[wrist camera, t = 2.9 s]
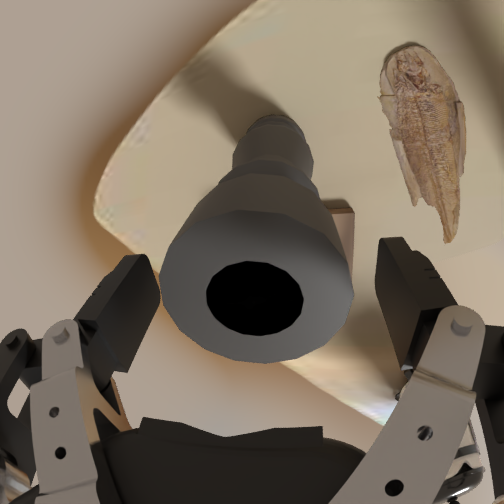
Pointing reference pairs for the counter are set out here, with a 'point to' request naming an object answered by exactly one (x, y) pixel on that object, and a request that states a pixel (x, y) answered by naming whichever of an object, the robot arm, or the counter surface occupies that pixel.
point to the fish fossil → (426, 130)
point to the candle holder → (260, 256)
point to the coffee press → (458, 465)
